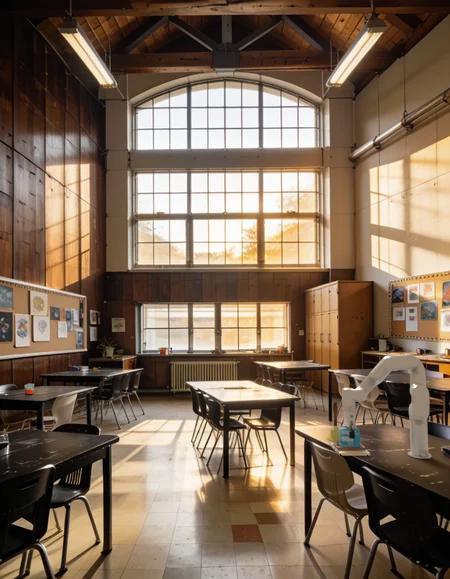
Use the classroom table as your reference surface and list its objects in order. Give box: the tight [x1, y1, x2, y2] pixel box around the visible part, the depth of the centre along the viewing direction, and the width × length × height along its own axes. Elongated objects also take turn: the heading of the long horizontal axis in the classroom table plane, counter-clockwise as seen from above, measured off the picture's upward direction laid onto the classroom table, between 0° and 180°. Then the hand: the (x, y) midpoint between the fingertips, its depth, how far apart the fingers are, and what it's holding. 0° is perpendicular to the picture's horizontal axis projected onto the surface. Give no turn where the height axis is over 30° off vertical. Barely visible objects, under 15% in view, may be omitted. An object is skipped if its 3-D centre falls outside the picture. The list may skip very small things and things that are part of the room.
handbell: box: [326, 401, 340, 443], centre depth 297 cm, size 12×12×25 cm
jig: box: [329, 442, 371, 457], centre depth 269 cm, size 22×18×3 cm
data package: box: [338, 426, 361, 447], centre depth 269 cm, size 12×4×12 cm, turn 89°
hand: (349, 436), depth 269 cm, fingers open, 9 cm apart
